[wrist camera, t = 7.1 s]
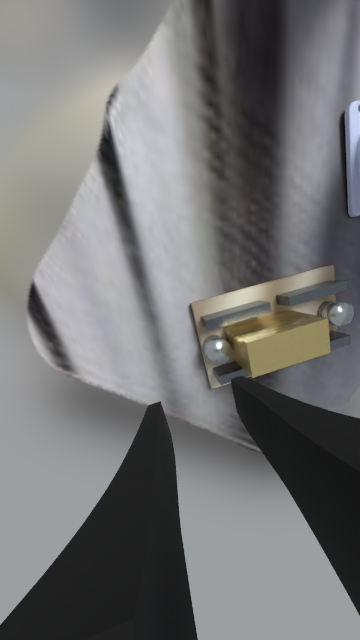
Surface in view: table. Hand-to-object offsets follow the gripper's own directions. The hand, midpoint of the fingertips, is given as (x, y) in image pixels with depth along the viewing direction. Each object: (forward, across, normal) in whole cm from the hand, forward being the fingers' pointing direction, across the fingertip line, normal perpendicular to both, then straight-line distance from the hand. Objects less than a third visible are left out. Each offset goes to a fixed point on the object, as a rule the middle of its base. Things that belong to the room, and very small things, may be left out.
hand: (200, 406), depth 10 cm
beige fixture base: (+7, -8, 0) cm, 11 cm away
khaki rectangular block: (+7, -7, 0) cm, 10 cm away
